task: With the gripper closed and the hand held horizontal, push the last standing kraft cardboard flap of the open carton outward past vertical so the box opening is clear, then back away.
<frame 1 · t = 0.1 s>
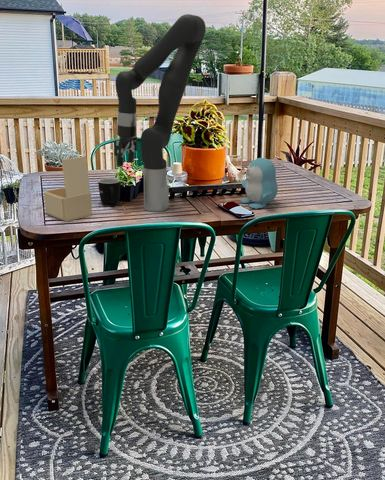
hand: (125, 163, 202), 17 cm above the table, tool pointing down, fingers open, 8 cm apart
mug: (110, 205, 207), on the table
front flap: (76, 176, 184), point 16 cm above the table, hinge at 85.0°
carton: (68, 214, 194), on the table
toy: (259, 204, 212), on the table
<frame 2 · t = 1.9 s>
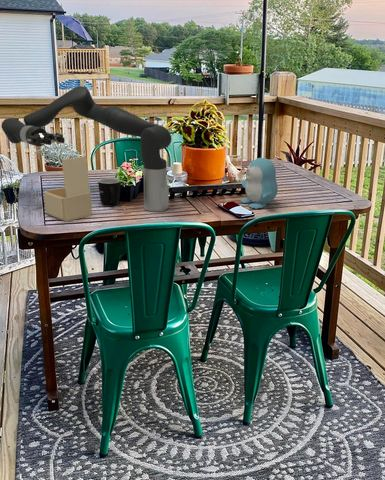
hand: (57, 141, 187), 28 cm above the table, tool horizontal, fingers open, 5 cm apart
nothing on the table moved.
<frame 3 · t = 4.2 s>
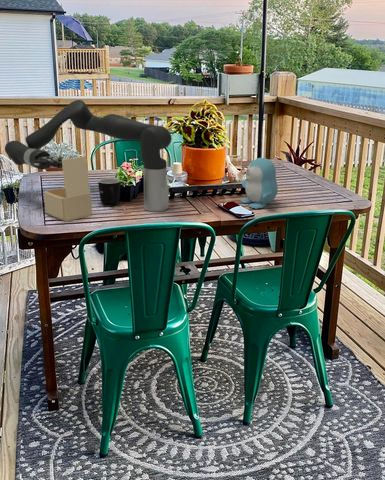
hand: (61, 165, 189), 19 cm above the table, tool horizontal, fingers closed
nothing on the table moved.
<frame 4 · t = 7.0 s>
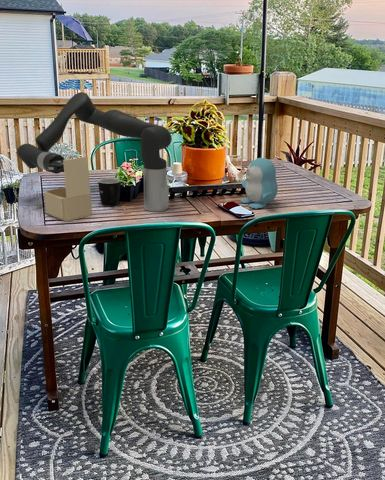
hand: (76, 169, 183), 19 cm above the table, tool horizontal, fingers closed
front flap: (77, 177, 183), point 16 cm above the table, hinge at 89.0°, touching gripper
everything else where it was.
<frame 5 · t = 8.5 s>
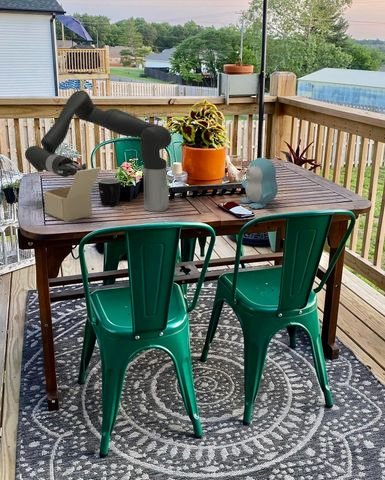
hand: (86, 173, 179), 19 cm above the table, tool horizontal, fingers closed
front flap: (83, 183, 181), point 15 cm above the table, hinge at 123.9°, touching gripper
everything else where it was.
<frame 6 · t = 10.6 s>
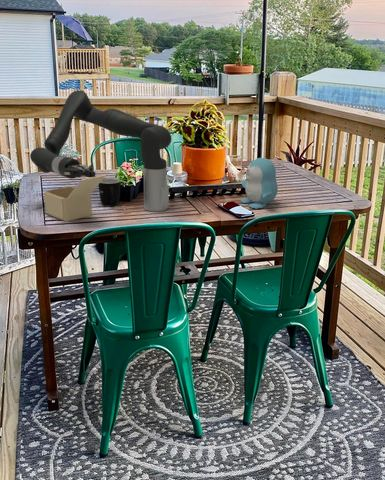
hand: (93, 174, 176), 19 cm above the table, tool horizontal, fingers closed
front flap: (86, 187, 181), point 13 cm above the table, hinge at 138.4°, touching gripper
everything else where it was.
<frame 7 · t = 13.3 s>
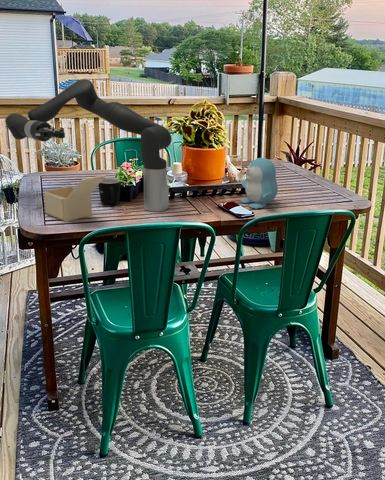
hand: (63, 135, 183), 31 cm above the table, tool horizontal, fingers closed
front flap: (86, 187, 181), point 13 cm above the table, hinge at 138.4°
everything else where it was.
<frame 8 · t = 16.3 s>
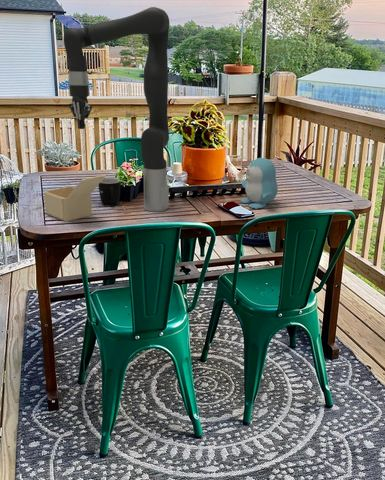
hand: (81, 128, 198), 31 cm above the table, tool pointing down, fingers closed
nothing on the table moved.
at the end: front flap at +138° (first picture: +85°) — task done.
